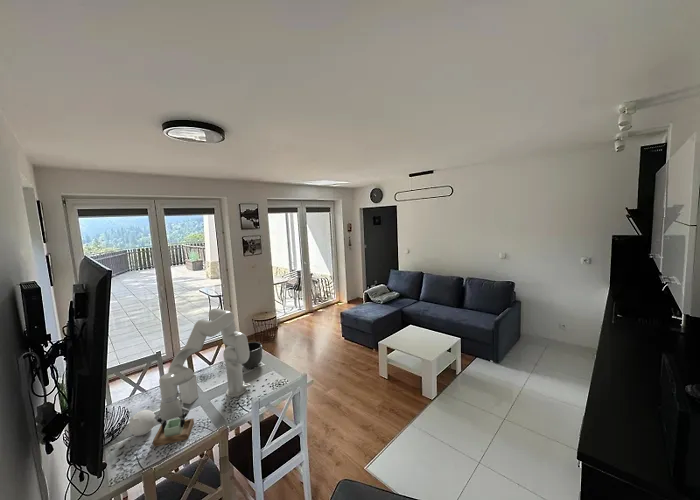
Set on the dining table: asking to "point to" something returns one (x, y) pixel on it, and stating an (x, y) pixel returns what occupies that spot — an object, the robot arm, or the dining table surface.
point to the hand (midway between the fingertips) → (174, 427)
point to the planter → (254, 355)
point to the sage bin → (173, 427)
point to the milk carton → (189, 391)
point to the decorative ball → (142, 422)
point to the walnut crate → (163, 440)
